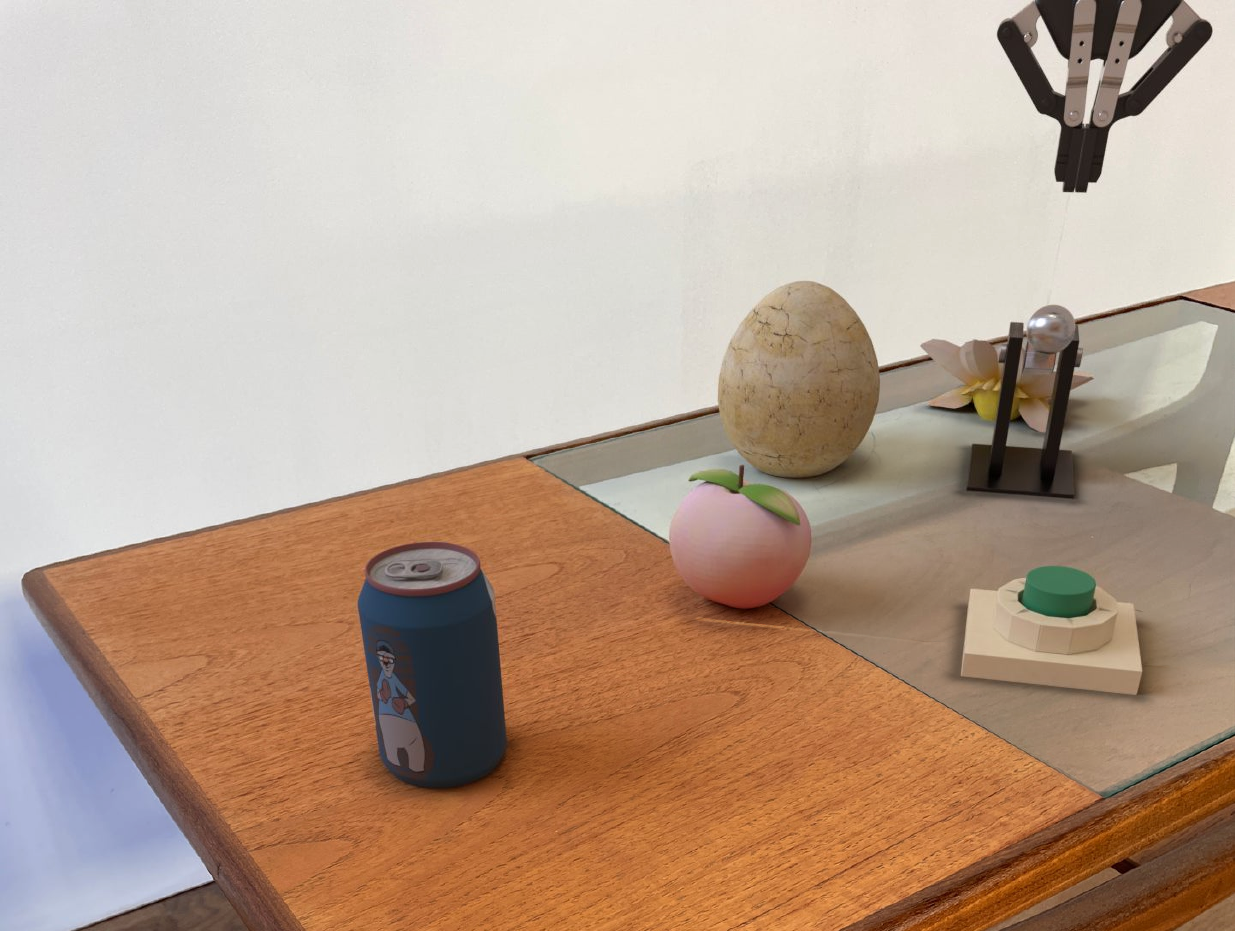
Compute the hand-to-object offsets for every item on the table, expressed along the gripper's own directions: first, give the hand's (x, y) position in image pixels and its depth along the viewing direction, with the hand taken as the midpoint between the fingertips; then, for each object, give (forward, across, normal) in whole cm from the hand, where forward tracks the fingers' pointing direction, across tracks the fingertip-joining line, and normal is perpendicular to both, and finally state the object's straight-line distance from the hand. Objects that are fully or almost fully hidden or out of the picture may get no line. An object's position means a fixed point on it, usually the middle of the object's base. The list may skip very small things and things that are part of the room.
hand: (1074, 190), depth 83 cm
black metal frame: (+23, 0, +9) cm, 25 cm away
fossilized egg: (+23, -18, +7) cm, 30 cm away
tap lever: (+12, 0, +4) cm, 13 cm away
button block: (+23, +2, -21) cm, 31 cm away
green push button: (+19, +2, -21) cm, 29 cm away
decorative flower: (+23, -1, +24) cm, 33 cm away
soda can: (+23, -30, -41) cm, 56 cm away
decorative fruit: (+23, -18, -19) cm, 35 cm away
